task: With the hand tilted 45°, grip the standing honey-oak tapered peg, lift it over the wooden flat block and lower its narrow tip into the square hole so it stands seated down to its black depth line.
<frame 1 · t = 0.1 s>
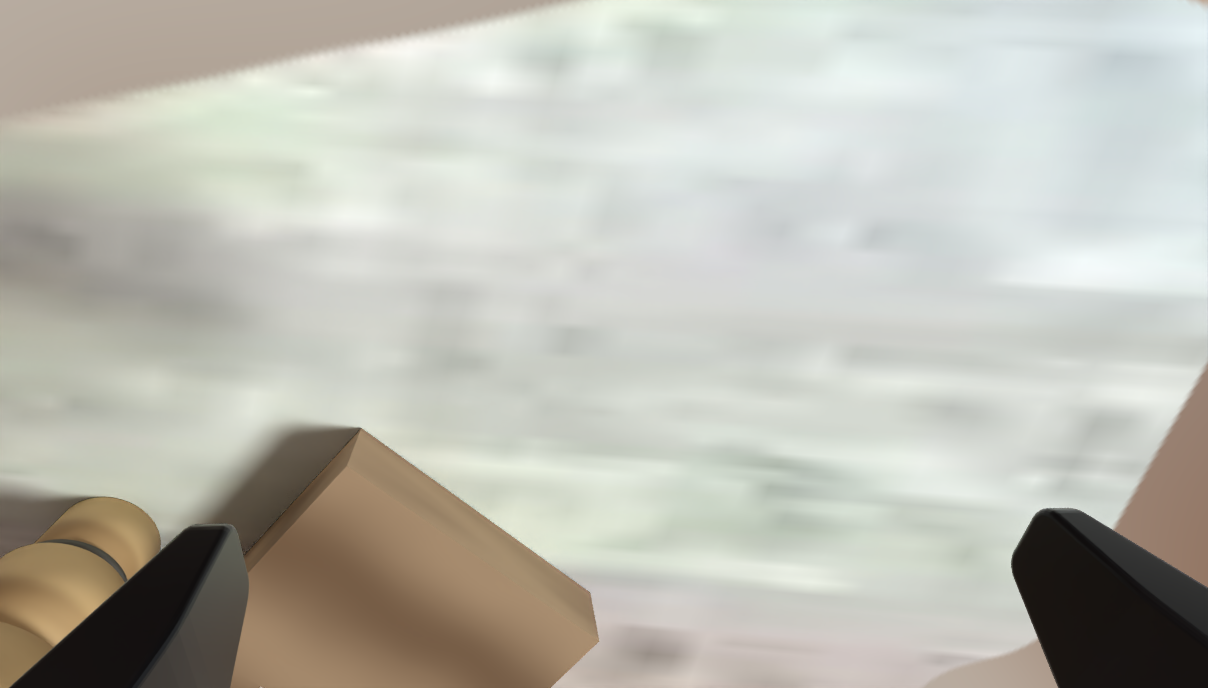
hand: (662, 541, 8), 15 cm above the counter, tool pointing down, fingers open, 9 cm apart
oak peg: (109, 539, 24), on the counter
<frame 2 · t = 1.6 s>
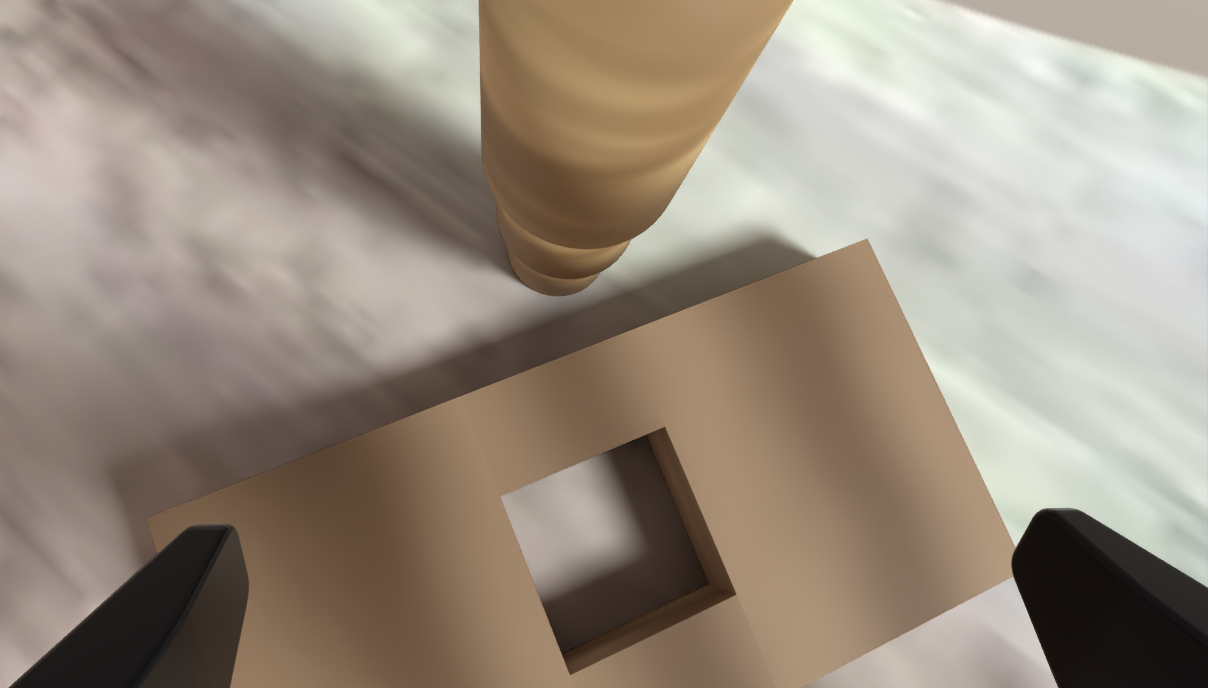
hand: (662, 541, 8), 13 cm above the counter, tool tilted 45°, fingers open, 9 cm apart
oak peg: (556, 248, 23), on the counter
wooden flat block: (604, 540, 22), on the counter
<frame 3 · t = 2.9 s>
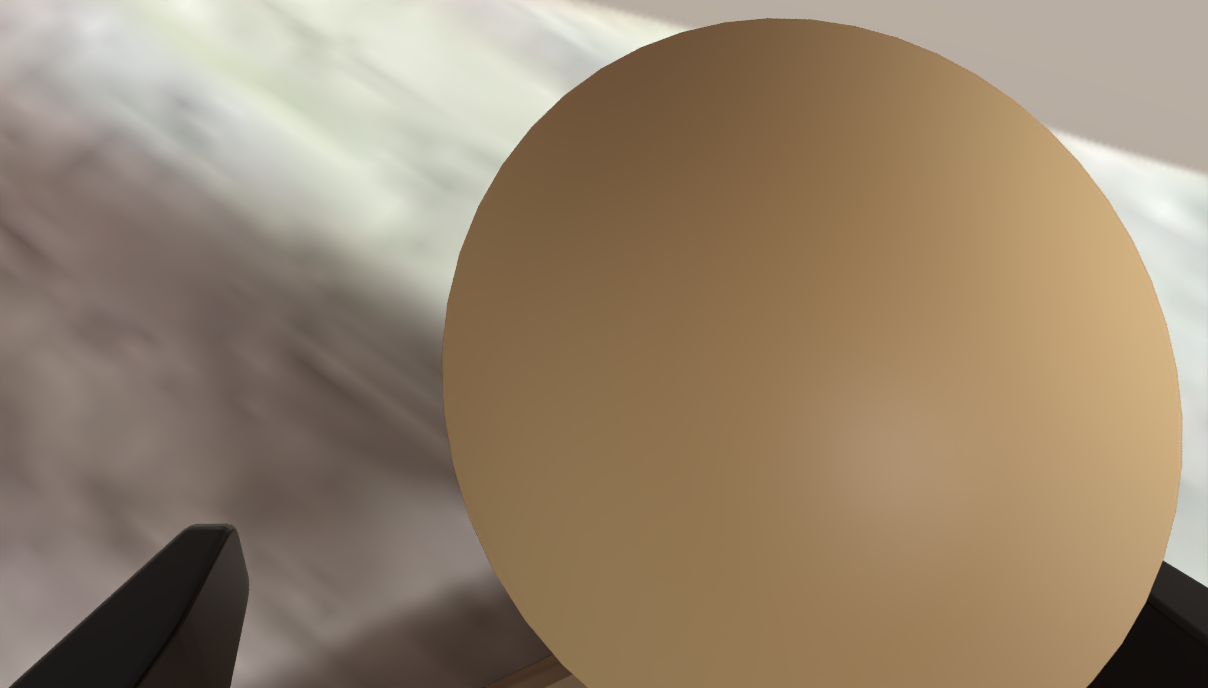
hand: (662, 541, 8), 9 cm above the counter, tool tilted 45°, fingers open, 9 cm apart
oak peg: (572, 473, 18), on the counter
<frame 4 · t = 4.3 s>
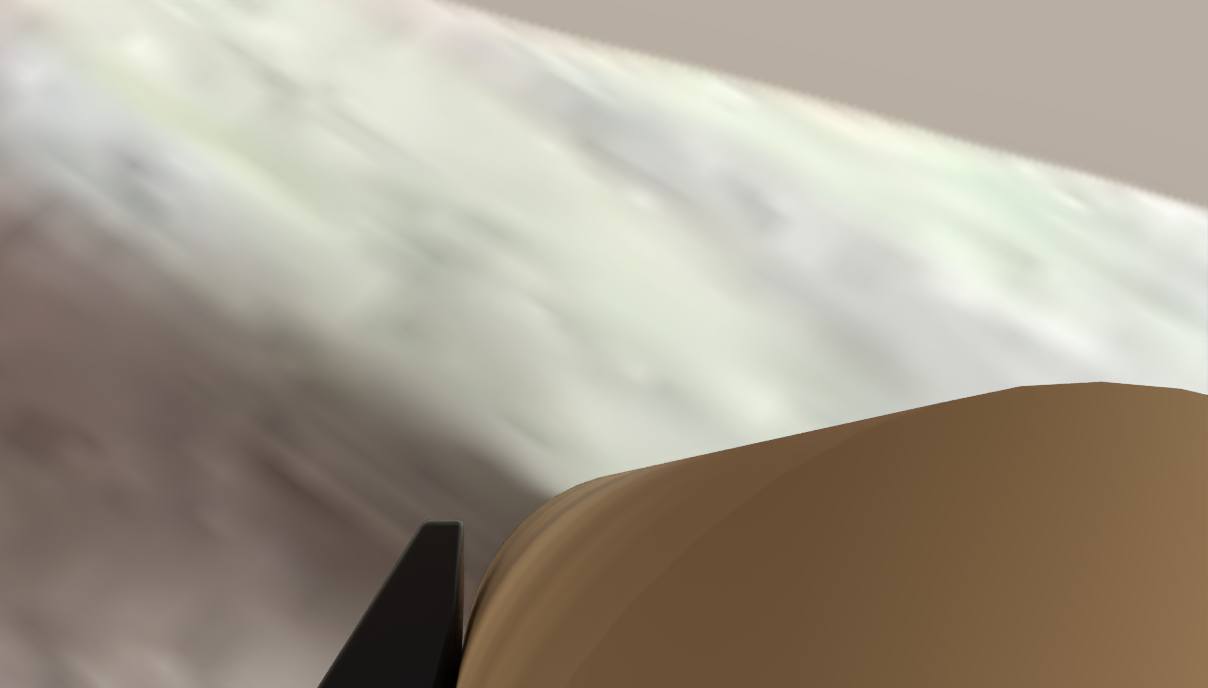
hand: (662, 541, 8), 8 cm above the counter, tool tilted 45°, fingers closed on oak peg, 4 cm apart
oak peg: (581, 592, 16), on the counter, touching gripper
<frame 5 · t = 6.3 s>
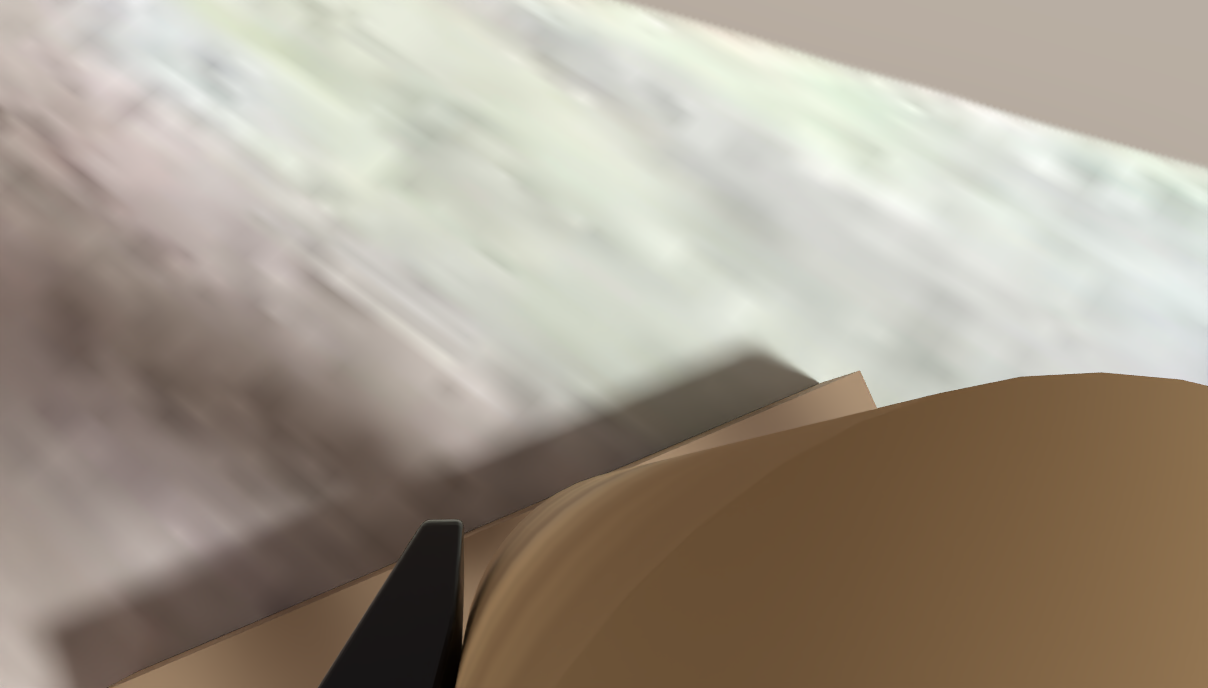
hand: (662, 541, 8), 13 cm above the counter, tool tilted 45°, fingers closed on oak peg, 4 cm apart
oak peg: (582, 591, 16), point 6 cm above the counter, touching gripper
when the fingers open (8 cm above the counter, at t = 8.7 s): oak peg stays where it is, resting in wooden flat block.
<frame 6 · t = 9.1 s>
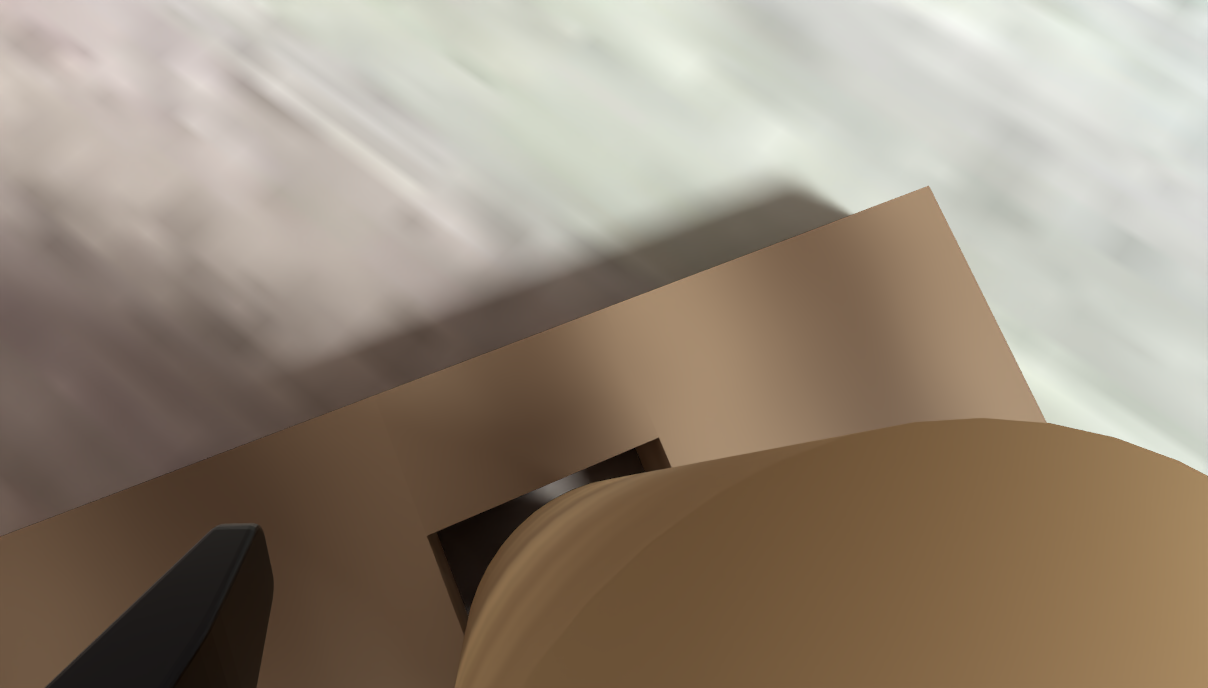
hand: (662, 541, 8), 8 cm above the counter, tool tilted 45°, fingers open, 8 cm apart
oak peg: (579, 592, 16), resting in wooden flat block
wooden flat block: (578, 589, 16), on the counter
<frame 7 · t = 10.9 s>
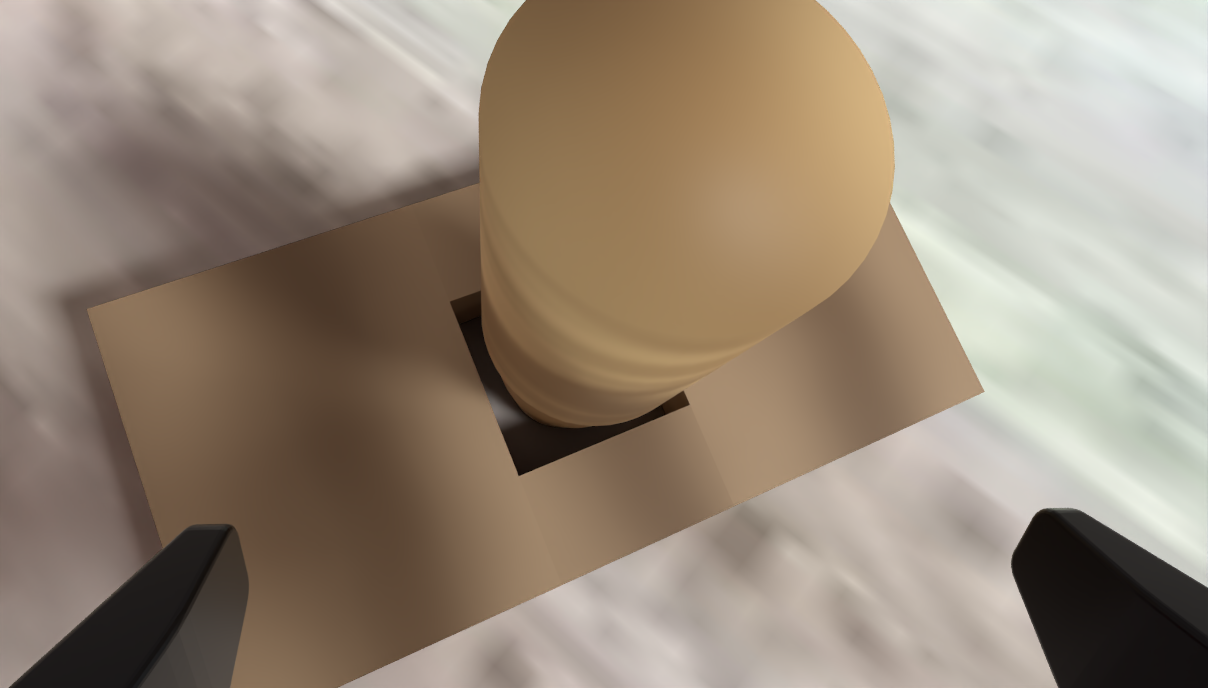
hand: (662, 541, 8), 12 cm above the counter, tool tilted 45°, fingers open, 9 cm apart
oak peg: (561, 374, 21), resting in wooden flat block
wooden flat block: (561, 372, 21), on the counter
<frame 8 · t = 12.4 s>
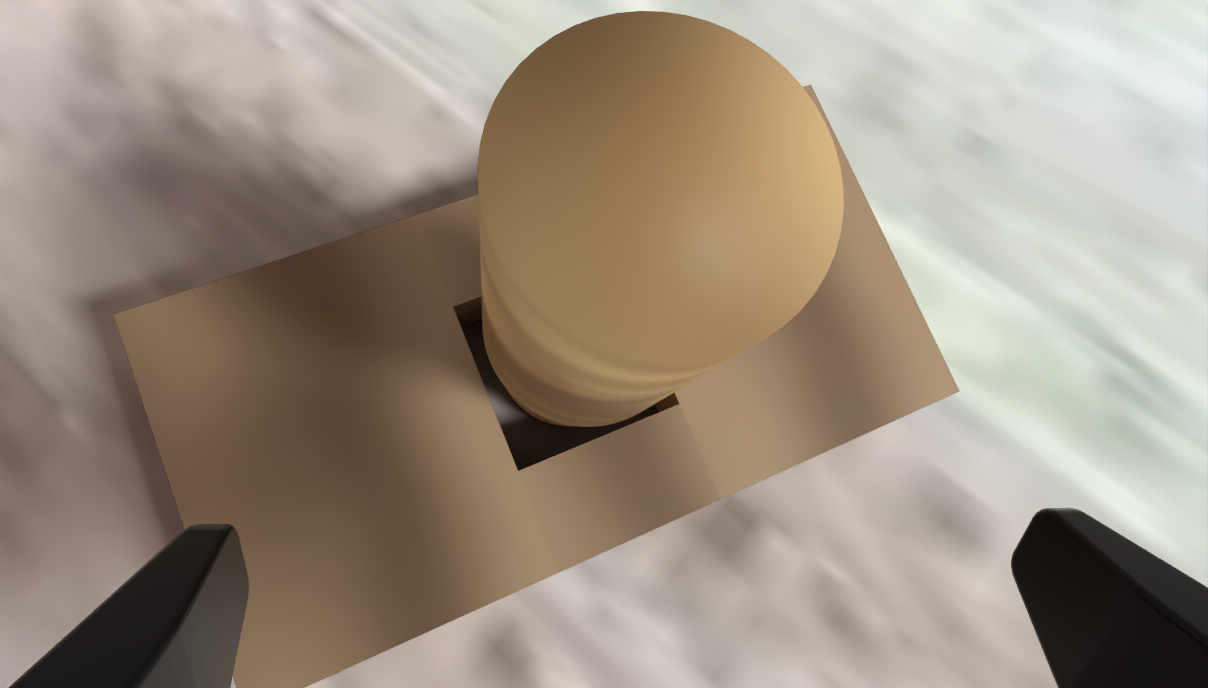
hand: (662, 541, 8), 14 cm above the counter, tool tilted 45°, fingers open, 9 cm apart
oak peg: (559, 373, 23), resting in wooden flat block
wooden flat block: (558, 371, 23), on the counter
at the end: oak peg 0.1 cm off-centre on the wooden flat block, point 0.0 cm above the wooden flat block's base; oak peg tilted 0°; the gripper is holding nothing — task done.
